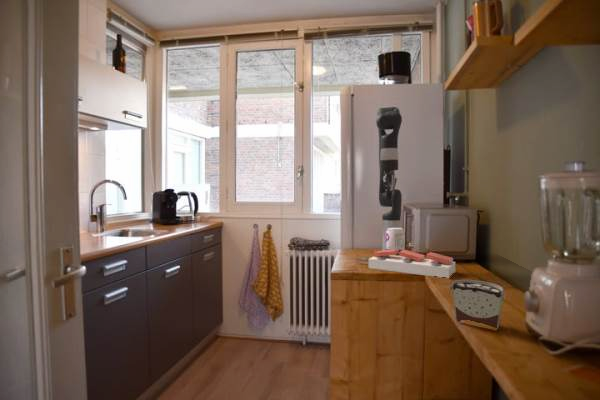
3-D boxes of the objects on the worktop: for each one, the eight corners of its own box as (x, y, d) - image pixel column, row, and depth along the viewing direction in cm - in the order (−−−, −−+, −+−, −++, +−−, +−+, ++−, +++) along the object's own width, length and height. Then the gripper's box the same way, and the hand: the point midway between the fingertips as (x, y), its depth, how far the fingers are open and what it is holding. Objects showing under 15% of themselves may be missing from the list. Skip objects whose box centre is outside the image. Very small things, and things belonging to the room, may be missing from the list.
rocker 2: (429, 255, 143) (430, 252, 143) (452, 261, 138) (453, 257, 138) (425, 258, 138) (426, 254, 138) (449, 264, 133) (450, 260, 133)
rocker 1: (379, 254, 155) (378, 250, 155) (398, 252, 150) (398, 249, 150) (374, 256, 150) (373, 253, 150) (394, 255, 145) (393, 251, 145)
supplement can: (385, 261, 160) (385, 229, 160) (387, 257, 168) (387, 227, 168) (404, 262, 158) (403, 229, 157) (404, 258, 166) (404, 227, 165)
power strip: (362, 261, 162) (362, 250, 161) (455, 271, 139) (455, 259, 139) (351, 266, 152) (351, 254, 152) (448, 278, 129) (448, 265, 129)
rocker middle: (403, 253, 149) (403, 249, 149) (424, 259, 144) (424, 255, 144) (398, 255, 144) (399, 251, 144) (420, 261, 139) (420, 257, 139)
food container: (510, 325, 85) (510, 285, 84) (504, 333, 80) (505, 290, 80) (457, 313, 93) (457, 276, 93) (449, 320, 88) (449, 281, 88)
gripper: (386, 160, 157) (386, 199, 158) (375, 159, 146) (375, 199, 147) (402, 159, 153) (402, 199, 154) (392, 157, 142) (392, 200, 143)
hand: (389, 199), depth 150 cm, fingers closed
